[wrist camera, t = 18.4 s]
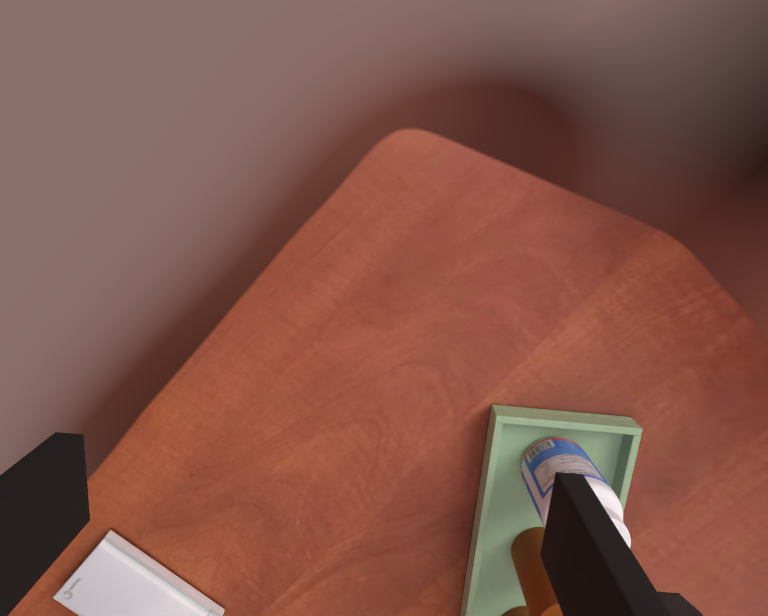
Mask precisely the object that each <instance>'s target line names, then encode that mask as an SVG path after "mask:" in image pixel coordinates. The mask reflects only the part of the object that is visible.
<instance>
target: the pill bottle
mask: <svg viewBox="0 0 768 616" xmlns="http://www.w3.org/2000/svg"><path fill="white" fill-rule="evenodd" d="M555 472H563V473H575V474H583V475H584V477H585V478H586V480H587V481H588V483H589V485H590V486H591V488H592V489H593V491H594V492H595V494H596V496H597V497H598V499H599V500H600V502H601V504H602V505H603V507H604V508H605V510H606V512H607V513H608V515H609V516H610V518H611V520H612V521H613V523H614V524H615V526H616V528H617V529H618V531H619V532H620V534H621V536H622V537H623V539H624V540H625V542H626V543H627V545H628V547H629V548H630V545H631V538H630V534H629V532H628V530H627V528H626V526H625V525H624V523H623V509H622V506H621V503H620V501H619V499H618V497H617V496H616V494H615V493H614V491H613V490H612V488H611V487H610V486H609V484H608V483H607V482H606V480H605V479H604V477H603V476H602V475H601V473H600V472H599V471H598V469H597V468H596V466H595V465H594V464H593V462H592V461H591V460H590V458H589V457H588V455H587V454H586V453H585V451H584V450H583V449H582V448H581V447H580V446H579V445H578V444H577V443H576V442H574V441H572V440H570V439H568V438H565V437H559V436H551V437H546V438H543V439H541V440H539V441H537V442H535V443H534V444H533V445H531V446H530V447H529V449H528V450H527V451H526V452H525V454H524V456H523V458H522V462H521V474H522V478H523V481H524V483H525V486H526V488H527V490H528V492H529V495H530V497H531V499H532V501H533V504H534V506H535V508H536V510H537V513H538V515H539V517H540V519H541V522H542V524H543V526H544V528H545V526H546V521H547V515H548V510H549V505H550V499H551V494H552V488H553V483H554V478H555Z"/></svg>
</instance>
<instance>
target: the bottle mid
mask: <svg viewBox="0 0 768 616" xmlns="http://www.w3.org/2000/svg"><path fill="white" fill-rule="evenodd" d="M544 531H545V528H544V527H534V528H530V529H527V530H525V531H523V532H522V533H520V534H519V535H518V536H517V537H516V538H515V540H514V542H513V544H512V547H511V556H512V560H513V563H514V567H515V570H516V573H517V576H518V580H519V583H520V586H521V589H522V593H523V596H524V599H525V602H526V606H527V609H528V612H529V616H563V614H562V611H561V609H560V606H559V603H558V601H557V598H556V596H555V593H554V590H553V588H552V585H551V583H550V580H549V577H548V575H547V572H546V570H545V567H544V564H543V562H542V559H541V557H540V553H541V547H542V542H543V537H544Z"/></svg>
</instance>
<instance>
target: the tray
mask: <svg viewBox="0 0 768 616" xmlns="http://www.w3.org/2000/svg"><path fill="white" fill-rule="evenodd" d="M641 434H642V428H641V427H640V426H639V425H638V424H637V423H636V422H635V421H634V420H633V419H632V418H631V417H625V416H614V415H603V414H592V413H581V412H570V411H559V410H548V409H536V408H525V407H514V406H503V405H491V411H490V418H489V425H488V431H487V438H486V445H485V451H484V458H483V465H482V471H481V478H480V485H479V491H478V498H477V505H476V511H475V518H474V525H473V531H472V538H471V545H470V552H469V558H468V565H467V572H466V578H465V585H464V592H463V598H462V605H461V612H460V616H503V614H504V613H506V612H507V611H508V610H510V609H512V608H515V607H519V606H526V602H525V599H524V596H523V593H522V589H521V586H520V583H519V580H518V576H517V573H516V570H515V567H514V563H513V560H512V556H511V547H512V544H513V542H514V540H515V538H516V537H517V536H518V535H519V534H520V533H522V532H523V531H525V530H527V529H530V528H534V527H544V526H543V524H542V522H541V519H540V517H539V515H538V513H537V510H536V508H535V506H534V504H533V501H532V499H531V497H530V495H529V492H528V490H527V488H526V486H525V483H524V481H523V478H522V474H521V462H522V458H523V456H524V454H525V452H526V451H527V450H528V449H529V447H530V446H531V445H533V444H534V443H535V442H537V441H539V440H541V439H543V438H546V437H551V436H559V437H565V438H568V439H570V440H572V441H574V442H576V443H577V444H578V445H579V446H580V447H581V448H582V449H583V450H584V451H585V453H586V454H587V455H588V457H589V458H590V460H591V461H592V462H593V464H594V465H595V466H596V468H597V469H598V471H599V472H600V473H601V475H602V476H603V477H604V479H605V480H606V482H607V483H608V484H609V486H610V487H611V488H612V490H613V491H614V493H615V494H616V496H617V497H618V499H619V501H620V503H621V506H622V509H623V512H624V508H625V503H626V499H627V495H628V490H629V486H630V482H631V477H632V473H633V469H634V464H635V460H636V456H637V451H638V447H639V442H640V438H641Z"/></svg>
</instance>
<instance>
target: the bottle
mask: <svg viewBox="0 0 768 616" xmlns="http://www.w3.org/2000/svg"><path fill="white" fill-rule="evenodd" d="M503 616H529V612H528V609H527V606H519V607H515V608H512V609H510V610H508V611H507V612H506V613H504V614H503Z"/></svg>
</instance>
